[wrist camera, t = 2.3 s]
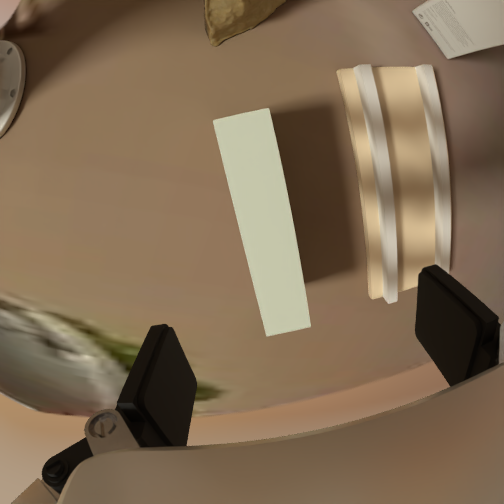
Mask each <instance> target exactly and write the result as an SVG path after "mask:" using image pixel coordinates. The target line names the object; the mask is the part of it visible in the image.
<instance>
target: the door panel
mask: <svg viewBox="0 0 504 504" xmlns="http://www.w3.org/2000/svg"><path fill="white" fill-rule="evenodd" d="M213 124H214V128H215V132H216V136H217V140H218V144H219V148H220V152H221V156H222V160H223V164H224V169H225V173H226V177H227V181H228V185H229V189H230V193H231V197H232V201H233V205H234V209H235V213H236V217H237V221H238V225H239V229H240V233H241V237H242V241H243V245H244V249H245V253H246V257H247V261H248V265H249V269H250V273H251V277H252V281H253V285H254V289H255V293H256V297H257V301H258V304H259V308H260V312H261V316H262V320H263V324H264V328H265V332H266V336H271V335H276V334H280V333H285V332H290V331H294V330H299V329H303V328H308V327H311V324H310V318H309V311H308V305H307V298H306V292H305V286H304V280H303V274H302V268H301V262H300V257H299V251H298V245H297V240H296V234H295V229H294V224H293V218H292V213H291V208H290V203H289V198H288V193H287V188H286V183H285V178H284V173H283V169H282V164H281V159H280V155H279V150H278V145H277V141H276V136H275V132H274V128H273V123H272V119H271V115H270V110H269V108H266V109H261V110H256V111H251V112H247V113H242V114H238V115H233V116H229V117H225V118H221V119H217V120H213Z"/></svg>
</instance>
